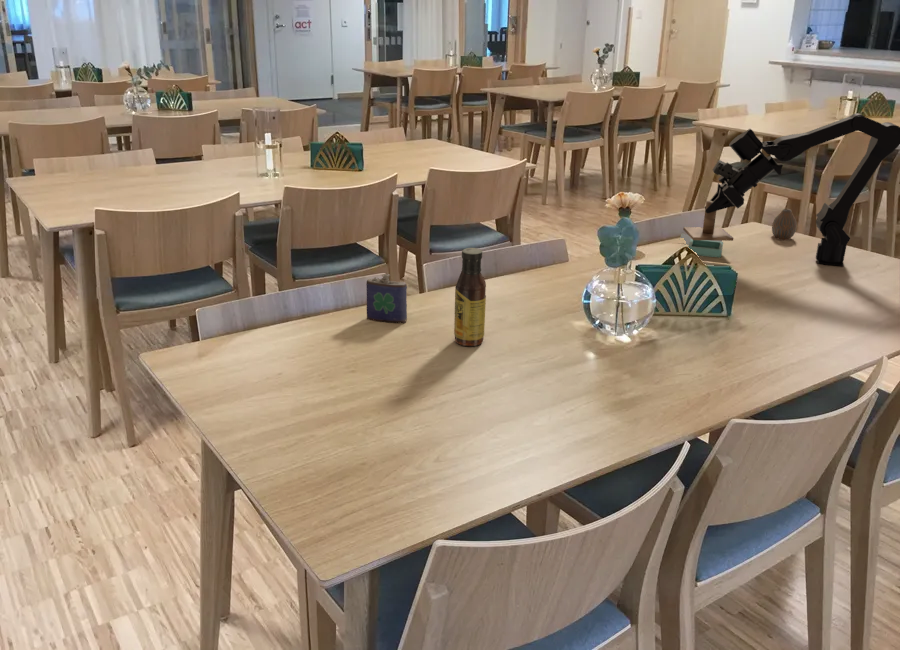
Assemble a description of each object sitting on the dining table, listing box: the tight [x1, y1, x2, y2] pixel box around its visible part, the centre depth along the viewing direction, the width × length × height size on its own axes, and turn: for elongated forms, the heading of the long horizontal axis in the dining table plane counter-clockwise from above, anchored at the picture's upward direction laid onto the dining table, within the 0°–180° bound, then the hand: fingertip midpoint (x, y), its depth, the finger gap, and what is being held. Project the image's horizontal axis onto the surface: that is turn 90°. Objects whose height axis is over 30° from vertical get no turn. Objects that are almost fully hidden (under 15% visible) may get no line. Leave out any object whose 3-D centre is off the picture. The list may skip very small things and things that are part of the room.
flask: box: [365, 273, 408, 324], centre depth 176 cm, size 9×3×11 cm, turn 74°
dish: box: [687, 239, 724, 259], centre depth 229 cm, size 9×9×2 cm
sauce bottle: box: [453, 247, 487, 347], centre depth 163 cm, size 7×6×20 cm
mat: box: [679, 233, 723, 246], centre depth 240 cm, size 12×12×1 cm
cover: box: [682, 200, 734, 242], centre depth 226 cm, size 11×11×10 cm
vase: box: [771, 208, 798, 241], centre depth 244 cm, size 7×7×9 cm
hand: (705, 210), depth 225 cm, fingers closed on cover, 3 cm apart
